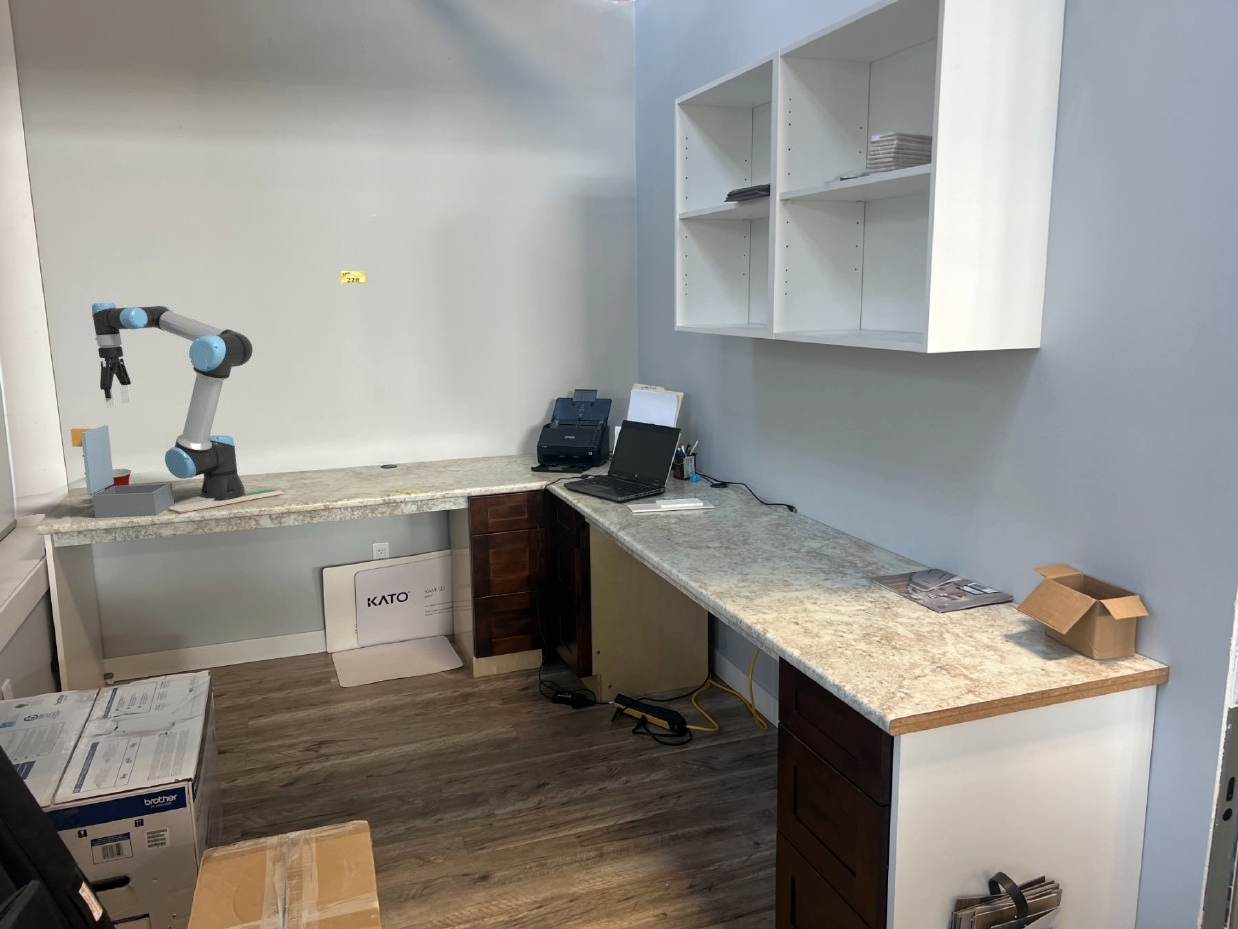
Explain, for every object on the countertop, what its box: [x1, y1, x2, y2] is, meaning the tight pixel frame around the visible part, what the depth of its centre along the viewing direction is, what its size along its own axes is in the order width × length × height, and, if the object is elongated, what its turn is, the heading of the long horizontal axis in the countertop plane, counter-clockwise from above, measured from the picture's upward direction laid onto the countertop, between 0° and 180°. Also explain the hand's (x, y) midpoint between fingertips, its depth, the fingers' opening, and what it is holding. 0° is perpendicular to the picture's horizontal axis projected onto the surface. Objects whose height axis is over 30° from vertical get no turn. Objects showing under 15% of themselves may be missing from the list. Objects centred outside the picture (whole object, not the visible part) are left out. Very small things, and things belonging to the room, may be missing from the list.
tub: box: [91, 482, 175, 519], centre depth 305 cm, size 20×15×9 cm
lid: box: [70, 424, 114, 496], centre depth 300 cm, size 22×16×8 cm
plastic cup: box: [104, 468, 132, 490], centre depth 321 cm, size 11×11×12 cm
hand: (119, 405), depth 318 cm, fingers open, 13 cm apart
